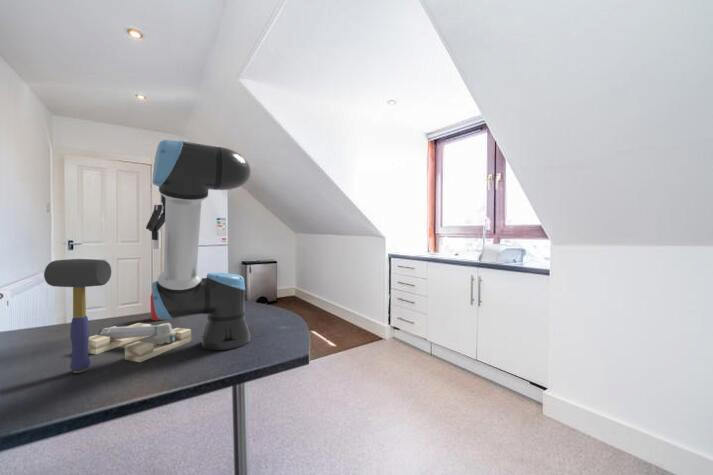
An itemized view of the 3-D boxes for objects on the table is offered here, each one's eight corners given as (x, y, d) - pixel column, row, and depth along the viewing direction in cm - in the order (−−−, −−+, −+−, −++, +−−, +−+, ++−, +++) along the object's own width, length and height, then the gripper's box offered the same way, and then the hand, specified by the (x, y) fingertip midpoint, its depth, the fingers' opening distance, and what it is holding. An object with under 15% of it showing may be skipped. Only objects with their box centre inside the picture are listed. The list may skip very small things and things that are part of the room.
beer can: (169, 319, 132) (169, 291, 131) (150, 322, 128) (150, 292, 128) (168, 316, 137) (168, 288, 137) (150, 318, 133) (150, 290, 133)
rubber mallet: (42, 379, 79) (40, 260, 78) (65, 366, 86) (64, 257, 85) (96, 376, 80) (95, 260, 80) (114, 364, 88) (113, 257, 87)
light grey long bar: (109, 325, 105) (177, 318, 102) (112, 345, 105) (180, 338, 102) (95, 330, 100) (166, 322, 97) (97, 350, 100) (168, 343, 97)
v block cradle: (191, 341, 106) (191, 329, 106) (140, 362, 89) (140, 348, 89) (138, 333, 113) (138, 322, 113) (82, 351, 96) (82, 339, 96)
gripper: (190, 197, 135) (191, 246, 135) (134, 189, 111) (134, 249, 111) (204, 196, 132) (205, 246, 133) (149, 189, 109) (150, 250, 109)
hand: (172, 248), depth 122 cm, fingers open, 13 cm apart
